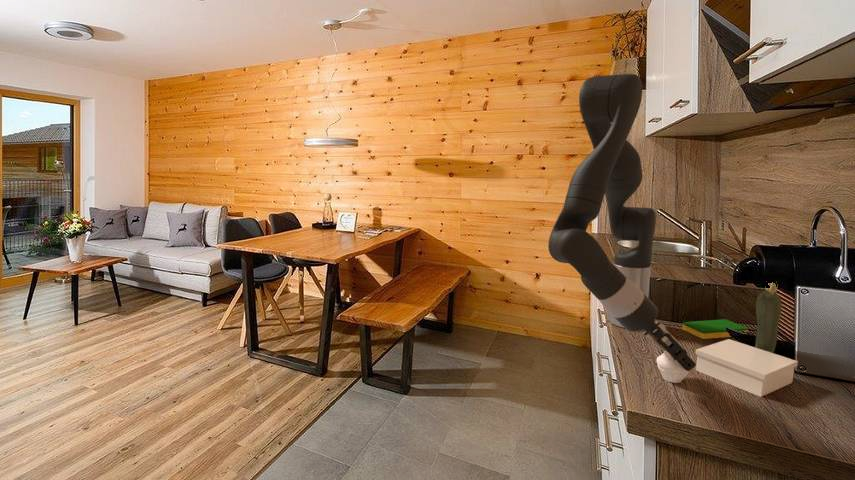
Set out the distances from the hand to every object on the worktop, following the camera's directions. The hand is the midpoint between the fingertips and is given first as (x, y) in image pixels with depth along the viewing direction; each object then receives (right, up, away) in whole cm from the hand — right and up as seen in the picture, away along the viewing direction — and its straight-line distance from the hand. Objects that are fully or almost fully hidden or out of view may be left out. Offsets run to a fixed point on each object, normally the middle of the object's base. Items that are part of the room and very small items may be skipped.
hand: (682, 360), depth 83 cm
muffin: (-2, -4, +1) cm, 5 cm away
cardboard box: (+14, -4, +2) cm, 15 cm away
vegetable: (+24, -3, +9) cm, 26 cm away
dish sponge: (+25, -1, +26) cm, 36 cm away
